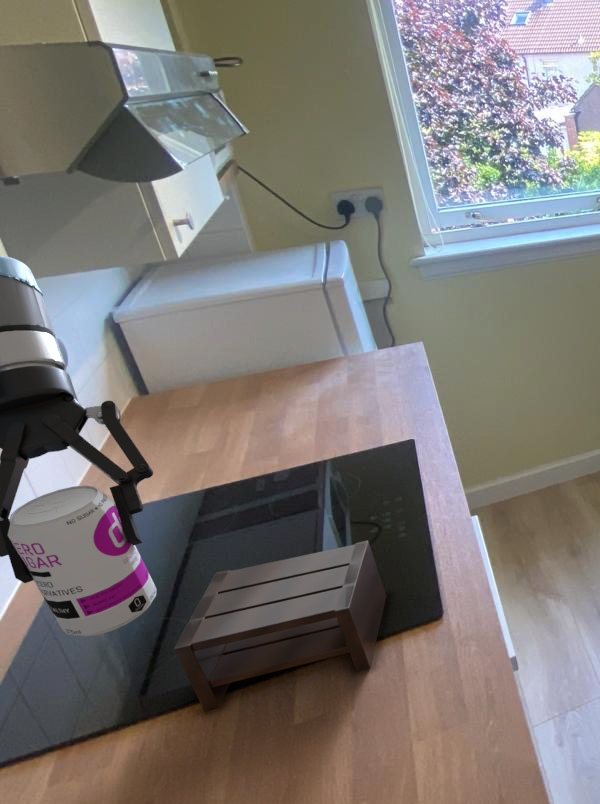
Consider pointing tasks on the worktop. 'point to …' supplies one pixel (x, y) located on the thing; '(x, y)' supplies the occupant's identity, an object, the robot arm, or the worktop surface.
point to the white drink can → (82, 560)
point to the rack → (282, 618)
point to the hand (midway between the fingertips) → (82, 559)
